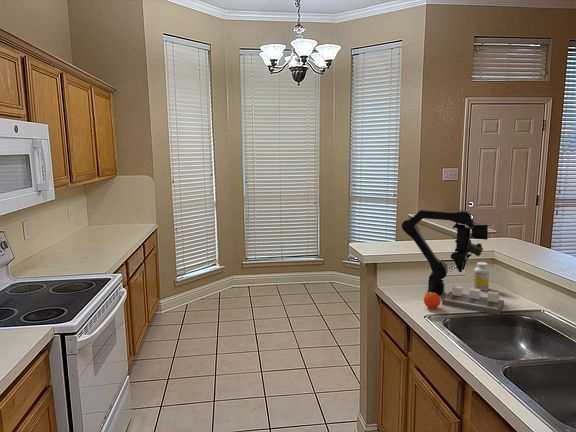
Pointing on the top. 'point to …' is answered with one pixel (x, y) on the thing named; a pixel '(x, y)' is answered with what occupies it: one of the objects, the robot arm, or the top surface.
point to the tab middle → (474, 293)
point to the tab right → (493, 296)
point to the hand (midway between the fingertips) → (461, 270)
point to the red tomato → (432, 300)
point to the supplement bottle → (481, 276)
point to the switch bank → (473, 303)
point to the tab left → (457, 290)
